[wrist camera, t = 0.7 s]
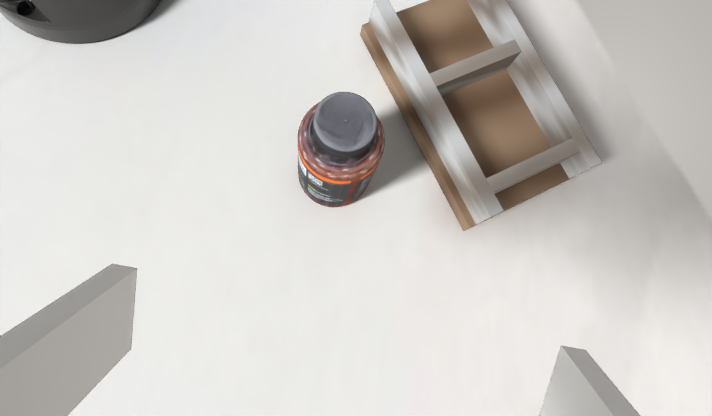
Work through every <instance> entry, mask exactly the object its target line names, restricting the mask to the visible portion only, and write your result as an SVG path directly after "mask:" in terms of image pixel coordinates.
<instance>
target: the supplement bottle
mask: <svg viewBox="0 0 712 416" xmlns="http://www.w3.org/2000/svg"><path fill="white" fill-rule="evenodd" d="M384 142H385V139H384V132H383V128H382V125H381V122H380V121H379V119H378V117H377V116H376V114H375V111H374V109H373V107H372V106H371V105H370V103H369V102H368V101H367V100H365V99H364V98H363V97H361V96H359V95H357V94H354V93H350V92H337V93H334V94H331V95H329V96H327V97H326V98H324V99H323V100H322V101H321V102H319V103H318V104H316V105H315V106H313V107H312V108H311V109H310V110H309V111H308V112H307V113H306V115H305V116H304V118H303V120H302V122H301V124H300V127H299V131H298V175H299V181H300V184H301V186H302V188H303V190H304V192H305V193H306V194H307V195H308V196H309V197H310V198H311V199H312V200H313V201H315V202H316V203H319V204H321V205H323V206H327V207H341V206H345V205H348V204H350V203H352V202H354V201H355V200H357V199H358V198H359V197H360V196H361V195H362V193H363V192H364V191H365V189H366V187H367V185H368V183H369V181H370V179H371V177H372V175H373V173H374V171H375V169H376V167H377V165H378V163H379V161H380V159H381V156H382V154H383V150H384Z"/></svg>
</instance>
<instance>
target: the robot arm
mask: <svg viewBox="0 0 712 416" xmlns="http://www.w3.org/2000/svg"><path fill="white" fill-rule="evenodd" d="M160 1H161V0H0V12H1V13H2V14H3V15H4V16H5V17H6V18H7V19H8V20H9V21H10V22H11V23H13V24H14V25H15V26H17V27H19V28H20V29H22V30H24V31H26V32H27V33H30V34H32V35H34V36H37V37H40V38H43V39H46V40H50V41H55V42H61V43H89V42H96V41H101V40H105V39H108V38H112V37H114V36H117V35H119V34H122V33H124V32H126V31H128V30H130V29H131V28H133V27H135V26H136V25H138V24H139V23H140V22H142V21H143V20H144V19H145V18H146V17H147V16H148V15H150V14H151V12H152V11H153V10H154V9H155V8H156V6H157V5H158V4H159V2H160ZM136 277H137V268H133V267H128V266H122V265H117V264H111V265H109V266H108V267H106V268H105V269H103V270H102V271H100V272H99V273H97V274H96V275H94V276H93V277H91V278H89V279H88V280H86V281H85V282H83V283H82V284H80V285H79V286H77V287H76V288H74V289H72V290H71V291H69V292H68V293H66V294H65V295H63V296H62V297H60V298H59V299H57V300H56V301H54V302H52V303H51V304H49V305H48V306H46V307H45V308H43V309H42V310H40V311H39V312H37V313H36V314H34V315H32V316H31V317H29V318H28V319H26V320H25V321H23V322H22V323H20V324H19V325H17V326H15V327H14V328H12V329H11V330H9V331H8V332H6V333H5V334H3V335H2V336H0V416H68V415H69V414H70V412H71V411H72V410H73V409H74V408H75V407H76V406H77V405H78V404H79V403H80V402H81V401H82V400H83V399H84V398H85V397H86V396H87V395H88V394H89V393H90V391H91V390H92V389H93V388H94V387H95V386H96V385H97V384H98V383H99V382H100V381H101V380H102V379H103V378H104V377H105V376H106V375H107V374H108V373H109V371H110V370H111V369H112V368H113V367H114V366H115V365H116V364H117V363H118V362H119V361H120V360H121V359H122V358H123V357H124V356H125V355H126V354H127V353H128V352H129V350H130V349H131V344H132V331H133V317H134V304H135V290H136ZM539 416H640V415H639V414H638V412H637V411H636V410H635V409H634V408H633V406H632V405H631V404H630V403H629V402H628V400H627V399H626V398H625V397H624V396H623V394H622V393H621V392H620V391H619V390H618V388H617V387H616V386H615V385H614V384H613V382H612V381H611V380H610V379H609V378H608V376H607V375H606V374H605V373H604V372H603V370H602V369H601V368H600V367H599V366H598V364H597V363H596V362H595V361H594V360H593V358H592V357H591V356H590V355H589V353H588V352H587V351H586V350H583V349H577V348H572V347H566V346H561V347H560V350H559V354H558V357H557V360H556V363H555V366H554V369H553V373H552V376H551V379H550V382H549V385H548V388H547V392H546V395H545V398H544V401H543V404H542V408H541V411H540V414H539Z"/></svg>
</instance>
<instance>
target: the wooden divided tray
mask: <svg viewBox="0 0 712 416" xmlns="http://www.w3.org/2000/svg"><path fill="white" fill-rule="evenodd" d="M360 35H361V37H362V39H363V41H364V43H365V45H366V47H367V48H368V50H369V52H370V54H371V56H372V58H373V60H374V62H375V64H376V66H377V67H378V69H379V71H380V73H381V75H382V77H383V79H384V81H385V83H386V85H387V86H388V88H389V90H390V92H391V94H392V96H393V98H394V100H395V102H396V104H397V105H398V107H399V109H400V111H401V113H402V115H403V117H404V119H405V121H406V123H407V124H408V126H409V128H410V130H411V132H412V134H413V136H414V138H415V140H416V142H417V143H418V145H419V147H420V149H421V151H422V153H423V155H424V157H425V159H426V160H427V162H428V164H429V166H430V168H431V170H432V172H433V174H434V176H435V178H436V179H437V181H438V183H439V185H440V187H441V189H442V191H443V193H444V195H445V197H446V198H447V200H448V202H449V204H450V206H451V208H452V210H453V212H454V214H455V216H456V217H457V219H458V221H459V223H460V225H461V227H462V229H463V231H464V230H466V229H468V228H470V227H472V226H474V225H477V224H479V223H481V222H483V221H485V220H487V219H489V218H491V217H493V216H495V215H497V214H499V213H501V212H503V211H505V210H507V209H509V208H511V207H513V206H515V205H517V204H519V203H521V202H523V201H525V200H527V199H529V198H532V197H534V196H536V195H538V194H540V193H542V192H544V191H546V190H548V189H550V188H552V187H554V186H556V185H558V184H560V183H562V182H564V181H566V180H568V179H570V178H572V177H574V176H576V175H578V174H580V173H582V172H584V171H586V170H588V169H590V168H592V167H594V166H596V165H598V164H600V163H602V162H601V160H600V158H599V157H598V155H597V153H596V152H595V150H594V148H593V147H592V145H591V143H590V141H589V140H588V138H587V136H586V135H585V133H584V131H583V130H582V128H581V126H580V124H579V123H578V121H577V119H576V118H575V116H574V114H573V113H572V111H571V109H570V108H569V106H568V104H567V102H566V101H565V99H564V97H563V96H562V94H561V92H560V91H559V89H558V87H557V85H556V84H555V82H554V80H553V79H552V77H551V75H550V74H549V72H548V70H547V69H546V67H545V65H544V63H543V62H542V60H541V58H540V57H539V55H538V53H537V52H536V50H535V48H534V46H533V45H532V43H531V41H530V40H529V38H528V36H527V35H526V33H525V31H524V30H523V28H522V26H521V24H520V23H519V21H518V19H517V18H516V16H515V14H514V13H513V11H512V9H511V7H510V6H509V4H508V2H507V1H506V0H429V1H427V2H424V3H421V4H418V5H416V6H413V7H410V8H408V9H405V10H402V11H399V12H397V13H396V12H395V10H394V9H393V7H392V5H391V3H390V1H389V0H375V1H374V3H373V7H372V11H371V15H370V19H369V23H366V24H364V25H362V29H361V34H360Z"/></svg>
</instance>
